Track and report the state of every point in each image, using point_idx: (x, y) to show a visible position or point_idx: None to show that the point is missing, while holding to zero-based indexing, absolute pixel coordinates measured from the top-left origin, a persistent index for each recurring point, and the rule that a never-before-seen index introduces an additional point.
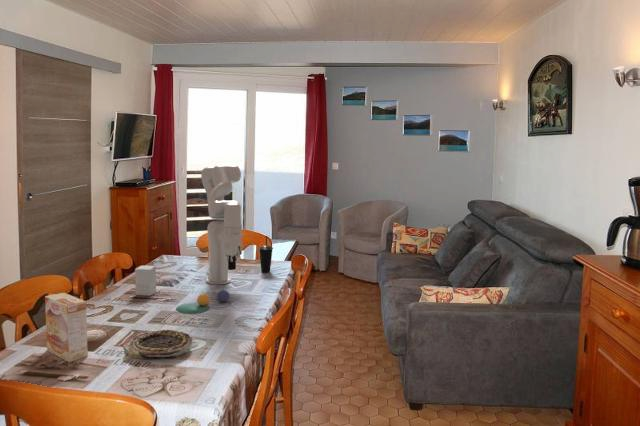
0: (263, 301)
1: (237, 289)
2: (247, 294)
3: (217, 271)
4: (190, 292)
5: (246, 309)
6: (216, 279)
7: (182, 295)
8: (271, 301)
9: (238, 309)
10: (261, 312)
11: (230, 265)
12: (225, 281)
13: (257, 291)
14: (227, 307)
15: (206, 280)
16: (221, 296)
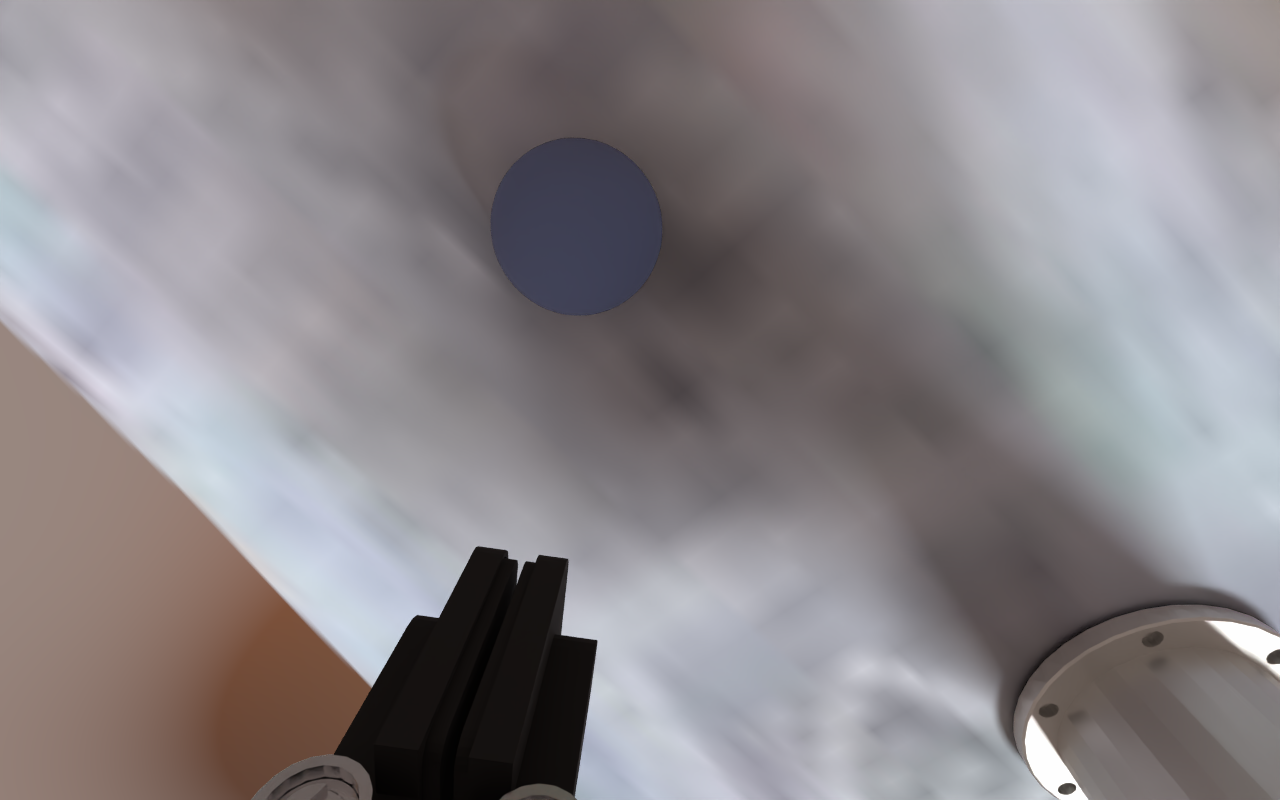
0: (313, 514)
1: (796, 633)
2: (598, 578)
3: (1225, 779)
4: (1216, 230)
5: (187, 203)
6: (1152, 681)
7: (1246, 45)
8: (267, 557)
9: (239, 136)
10: (8, 238)
11: (433, 640)
12: (1046, 715)
13: (598, 690)
14: (384, 98)
15: (1277, 635)
16: (527, 152)
